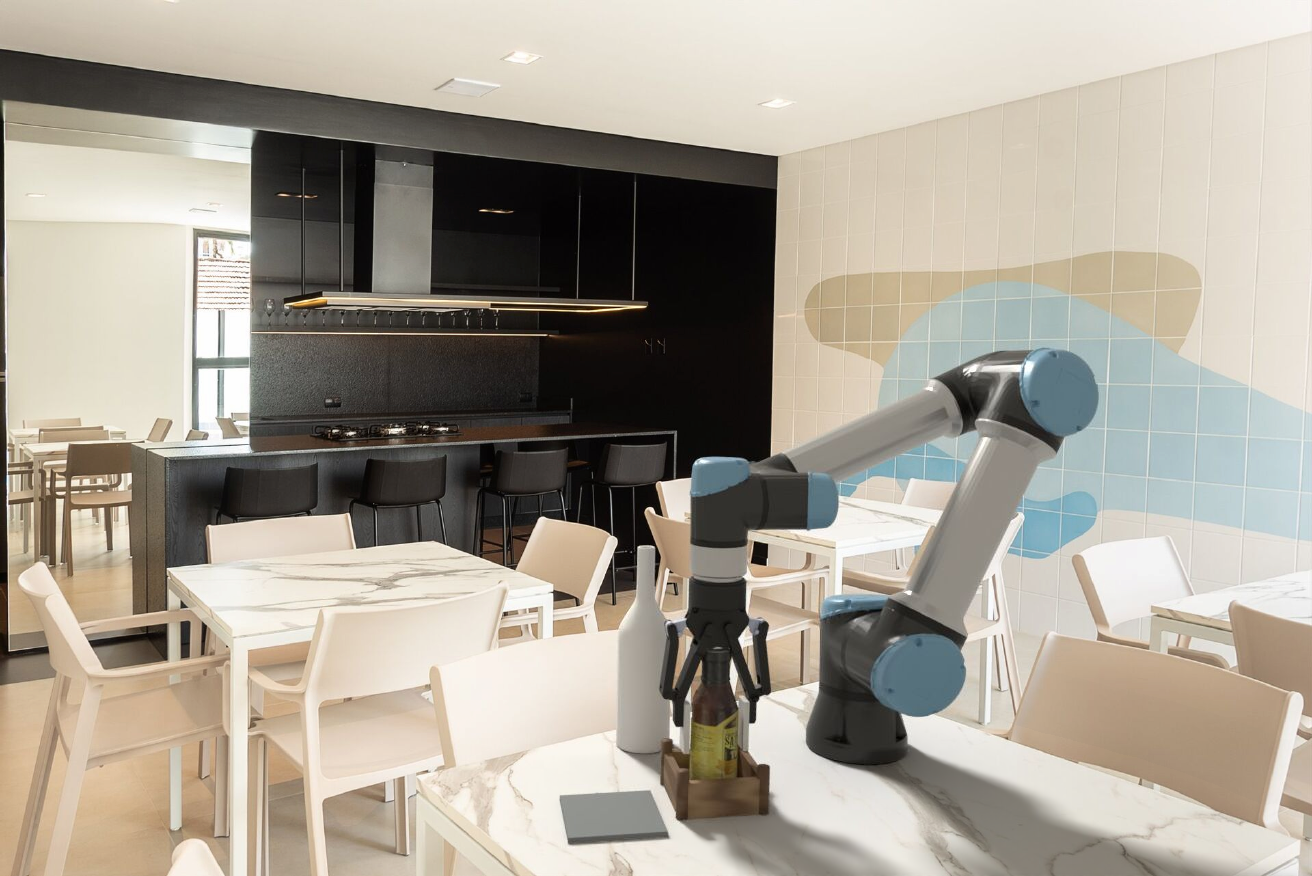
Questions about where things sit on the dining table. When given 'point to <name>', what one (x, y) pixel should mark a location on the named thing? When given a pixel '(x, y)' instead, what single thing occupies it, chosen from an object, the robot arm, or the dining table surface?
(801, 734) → the dining table surface
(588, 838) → the mat
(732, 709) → the sauce bottle
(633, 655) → the bottle
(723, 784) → the corner post wooden tray
